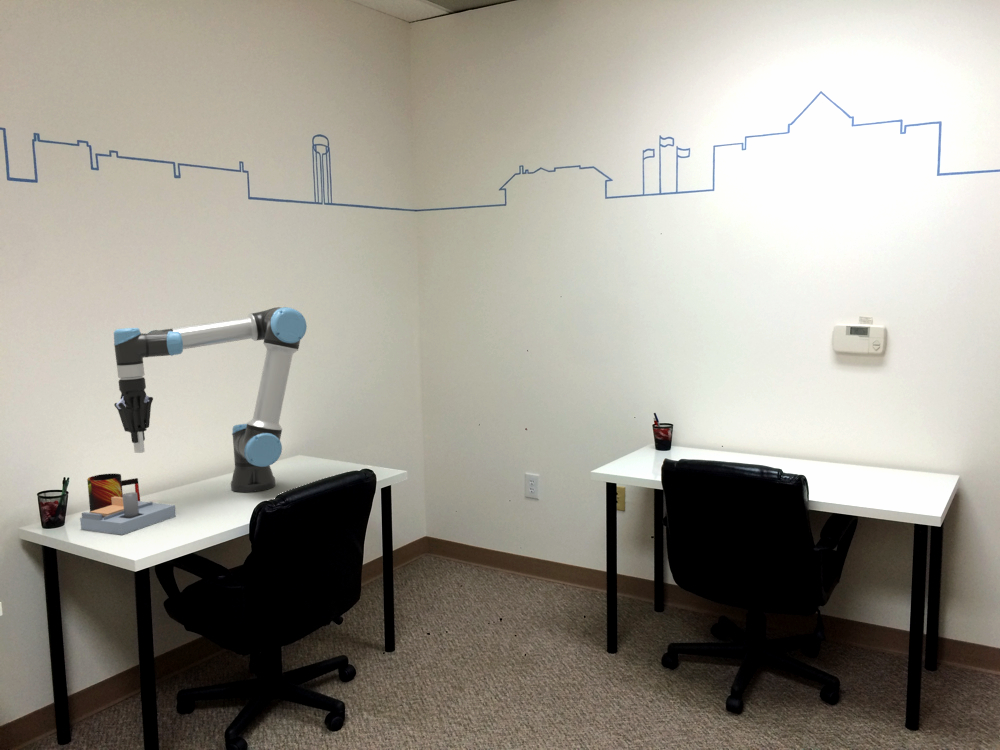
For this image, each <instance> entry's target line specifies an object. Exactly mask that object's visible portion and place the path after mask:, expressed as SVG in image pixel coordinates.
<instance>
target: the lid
mask: <svg viewBox="0 0 1000 750" xmlns="http://www.w3.org/2000/svg"><path fill="white" fill-rule="evenodd" d="M111 500H112V505H110V506H107V507H104V508H100V509H97V510H94V511H91V512H90V511H89V512H90V513H96V514H102V516H108V515H111V514H115V513H118V512H121V511H124V507H123V497H115V496H114V497H111Z"/></svg>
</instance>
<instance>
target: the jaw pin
mask: <svg viewBox="0 0 1000 750" xmlns="http://www.w3.org/2000/svg"><path fill="white" fill-rule="evenodd" d="M122 496H123V507H124V518H129V519H131V518H134V517H137V516H139V508H138V497H137V493H135V492H134V491H133V492H127V493H123V495H122Z"/></svg>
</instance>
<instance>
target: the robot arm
mask: <svg viewBox="0 0 1000 750" xmlns="http://www.w3.org/2000/svg"><path fill="white" fill-rule="evenodd" d="M307 327H308V326H307V322H306V319H305V317H304V315H303V314H302V313H301V312H300V311H298V310H297V309H295V308H292V307H286V306H284V307H279V306H278V307H273V308H268V309H267V310H261V311H257V312H254V313H253V312H252V313H249V314H248V315H247V316H245V317H239V318H231V319H225V320H219V321H211V322H205V323H200V324H199V323H198V324H192V325H184V326H180V327H173V328H172V327H171V328H165V329H160V330H159V329H158V330H157V329H154V330H151V331H148V332H147V333H142V332H141V330H140V328H139V327H125V328H118V329H115V330H114V332H113V342H114V343H113V345H114V346H113V347H114V352H115V354H114V355H115V360H116V361H115V362H116V368H117V369H116V370H117V372H116V373H117V377H118V378H119V379H118V388H119V389H118V390H119V392H120V394H121V395H120V400H119V401H118V402H115V403H114V407H115V409H117V412H118V415H119V417H120V420H121V423H122V424H121V425H122V427H123V430H124V432H128V433H130V437H131V443H133V450H134V453H137V454H141V453H145V452H146V451H145V443H144V442H145V440H146V438H145V432H146V431H147V429H148V428H149V427H150V419H151V408H152V403H153V401H154V397H152V396H148V395H147V393H146V390H145V389H146V388H147V386H146V378H145V377H144V376H145V367H144V358H152V357H154V358H155V357H165V356H166V357H167V356H171V357H173V356H176V355H177V356H178V355H181V354H182V353H183V351H184V350H188V349H195V348H200V347H206V346H208V347H209V346H212V345H219V344H225V343H226V344H227V343H231V342H239V341H243V340H245V341H246V340H249V339H250V340H253V341H255V342H257V341H262V340H263V345H264V346H265V348H266V352H265V357H264V362H263V367H262V373H261V378H260V381H259V388H258V391H257V397H256V401H255V402H256V403H255V407H254V411H253V416H252V419H251V420H249V421H248V422H247V423H240V424H235V425H234V426H233V427H232V433H231V435H232V443H233V460H234V469H233V473H232V474H233V475H232V479H231V481H230V490H231V491H233V492H236V493H255V492H263V491H266V490H269V489H272V488H274V487H275V486H276V478H275V476H274V475H273V470H272V468H271V465H273V464H274V463H276V462H277V461H278V459H280V458H281V455H282V450H283V445H282V441H281V437H282V431H283V427H282V426H281V425H280V423H279V422H280V420H281V418H280V417H281V413H282V409H283V405H284V400H285V393H286V389H287V384H288V380H289V375H290V369H291V365H292V359H293V355H294V354H295V353H296V352H298V351H299V349H300V343H301V340H302V339H303V338H304V337H305V334H306V332H307V329H308V328H307Z"/></svg>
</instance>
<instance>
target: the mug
mask: <svg viewBox="0 0 1000 750" xmlns="http://www.w3.org/2000/svg"><path fill="white" fill-rule="evenodd" d="M86 480H87V490H88V491H87V492H88V504H89V512H91V511H94V510H97V509H100V508H104V507H107V506H110V505H112V500H111V497H114V496H115V497H123V496H122V495H123V494H124V493H123V487H124V486H125V487H126V486H130V485H134V489H135V492H134V493H137V497H138V501H141V496H140V495H141V494H140V489H139V488H140V487H139V478H137V477H135V478H129V479H122V474H121V473H103V474H95V475H92V476H89V477H88V478H87V479H86Z"/></svg>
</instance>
